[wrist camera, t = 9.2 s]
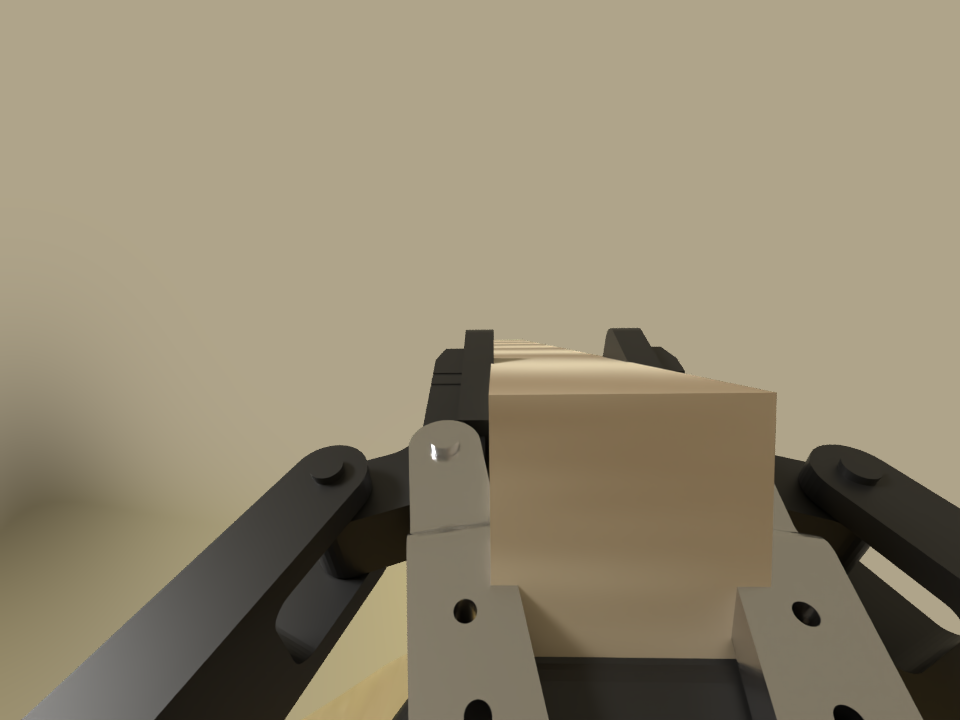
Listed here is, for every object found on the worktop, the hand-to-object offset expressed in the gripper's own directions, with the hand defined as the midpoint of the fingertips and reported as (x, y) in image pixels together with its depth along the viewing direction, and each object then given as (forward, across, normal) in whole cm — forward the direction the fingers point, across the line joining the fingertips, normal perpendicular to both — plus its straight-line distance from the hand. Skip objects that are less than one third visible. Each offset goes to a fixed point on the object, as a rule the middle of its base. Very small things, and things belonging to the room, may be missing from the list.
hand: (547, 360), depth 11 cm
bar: (+10, 0, +9) cm, 13 cm away
